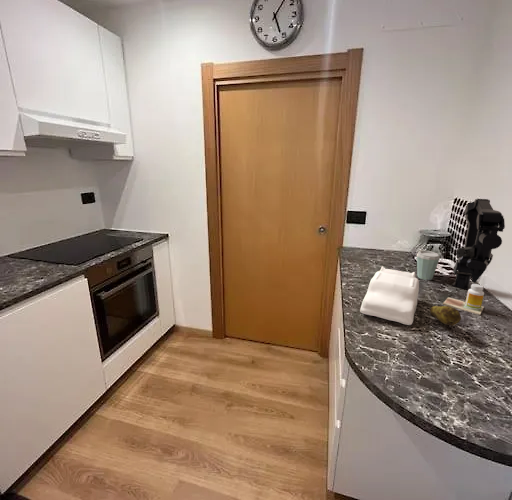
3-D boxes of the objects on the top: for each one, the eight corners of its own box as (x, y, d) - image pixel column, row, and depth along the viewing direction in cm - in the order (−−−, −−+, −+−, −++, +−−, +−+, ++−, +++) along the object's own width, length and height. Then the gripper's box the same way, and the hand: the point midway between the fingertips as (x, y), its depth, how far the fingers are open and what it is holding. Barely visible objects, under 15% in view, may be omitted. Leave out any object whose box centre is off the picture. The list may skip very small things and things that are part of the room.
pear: (452, 317, 112) (456, 299, 110) (460, 334, 101) (465, 313, 99) (428, 313, 116) (431, 295, 113) (433, 329, 104) (437, 309, 102)
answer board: (447, 298, 130) (448, 296, 130) (483, 307, 121) (483, 306, 121) (442, 304, 124) (442, 303, 124) (480, 314, 115) (480, 313, 115)
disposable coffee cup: (439, 280, 151) (444, 253, 147) (429, 285, 145) (434, 256, 141) (419, 274, 159) (423, 248, 155) (408, 278, 153) (413, 251, 149)
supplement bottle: (483, 310, 117) (488, 288, 115) (468, 309, 118) (473, 287, 116) (476, 304, 122) (481, 283, 120) (462, 303, 123) (466, 282, 121)
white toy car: (418, 299, 129) (422, 271, 126) (412, 328, 105) (418, 295, 101) (373, 289, 139) (376, 263, 136) (358, 314, 115) (361, 283, 111)
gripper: (464, 235, 127) (457, 269, 132) (455, 243, 114) (447, 280, 119) (496, 240, 120) (488, 275, 124) (490, 249, 107) (481, 287, 111)
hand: (475, 279), depth 120 cm, fingers open, 9 cm apart
